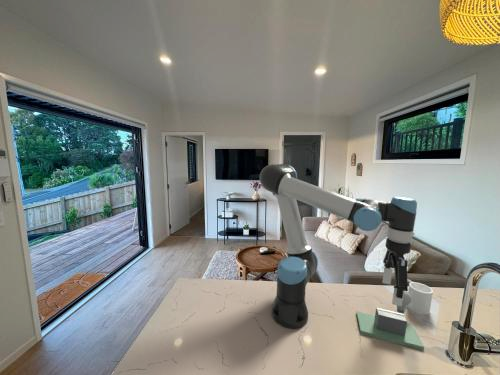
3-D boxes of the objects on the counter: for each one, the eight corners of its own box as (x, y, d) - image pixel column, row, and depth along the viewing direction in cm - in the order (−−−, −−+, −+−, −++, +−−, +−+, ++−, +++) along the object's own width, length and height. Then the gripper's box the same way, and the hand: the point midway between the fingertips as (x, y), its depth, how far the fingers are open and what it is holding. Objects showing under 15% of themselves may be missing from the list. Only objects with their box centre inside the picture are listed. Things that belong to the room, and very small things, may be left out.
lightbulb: (411, 320, 88) (415, 295, 87) (395, 317, 90) (398, 293, 88) (404, 310, 94) (407, 287, 93) (389, 307, 96) (392, 285, 94)
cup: (410, 296, 104) (413, 277, 103) (434, 313, 93) (438, 292, 91) (395, 297, 103) (398, 278, 102) (418, 315, 91) (421, 294, 90)
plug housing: (376, 329, 82) (378, 314, 81) (374, 321, 86) (376, 306, 85) (404, 336, 79) (407, 320, 78) (401, 328, 83) (403, 313, 82)
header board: (360, 333, 81) (361, 322, 80) (356, 313, 91) (357, 303, 91) (423, 350, 75) (425, 338, 74) (411, 326, 85) (413, 316, 84)
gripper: (426, 256, 64) (416, 319, 67) (399, 230, 88) (392, 278, 91) (397, 251, 67) (389, 312, 70) (378, 227, 90) (373, 274, 93)
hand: (391, 293), depth 80 cm, fingers open, 13 cm apart
